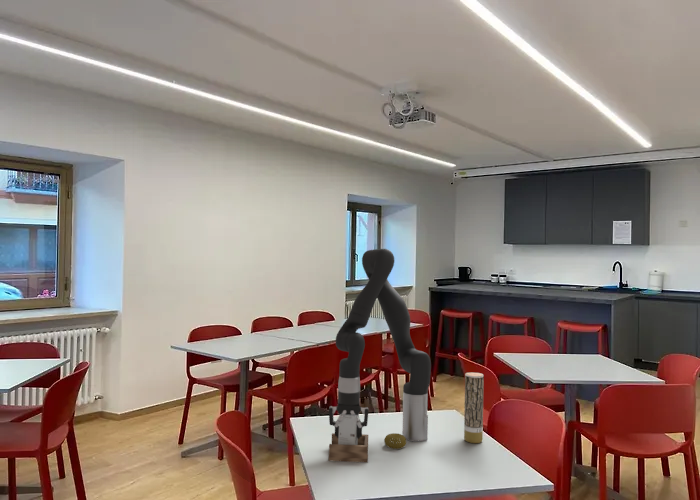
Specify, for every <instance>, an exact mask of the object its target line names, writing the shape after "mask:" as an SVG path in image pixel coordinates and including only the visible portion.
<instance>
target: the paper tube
mask: <svg viewBox="0 0 700 500" xmlns="http://www.w3.org/2000/svg"><path fill="white" fill-rule="evenodd" d="M484 380H485V379H484V374H483V373H480V372H466V373H465V374H464V418H463V421H464V422H463V423H464V424H463V426H464V428H463V432H464V433H463V439H464V441H465V442H467V443H470V444H480V443H483V439H484V437H483V436H484V435H483V433H484V430H483V429H484V422H483V421H484V387H485V386H484V384H485V383H484Z"/></svg>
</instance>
